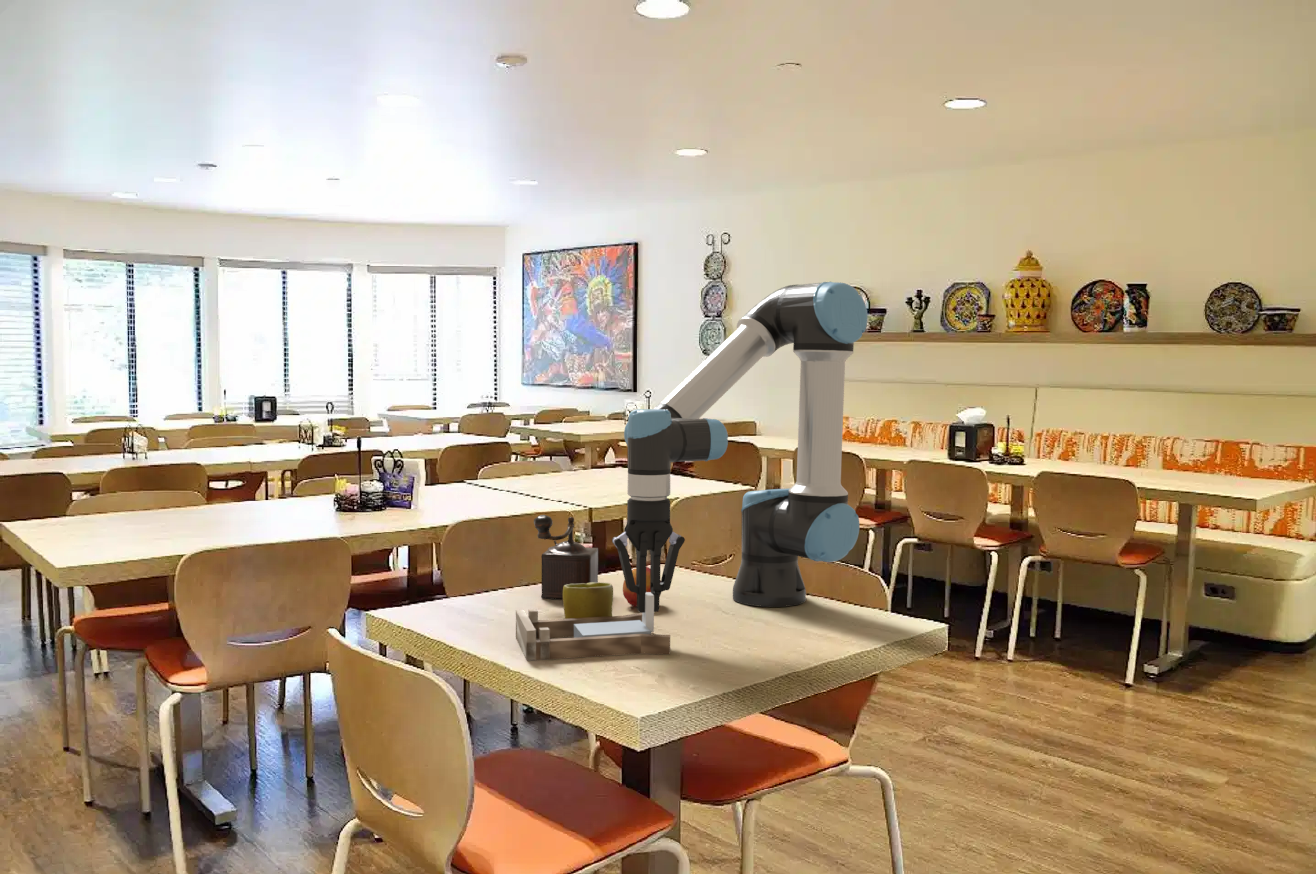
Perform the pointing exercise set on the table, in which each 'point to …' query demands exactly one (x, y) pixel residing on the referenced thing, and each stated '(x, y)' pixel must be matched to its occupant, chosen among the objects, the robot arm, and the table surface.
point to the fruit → (632, 596)
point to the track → (581, 638)
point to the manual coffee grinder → (564, 560)
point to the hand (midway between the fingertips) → (647, 630)
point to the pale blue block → (610, 628)
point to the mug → (587, 600)
